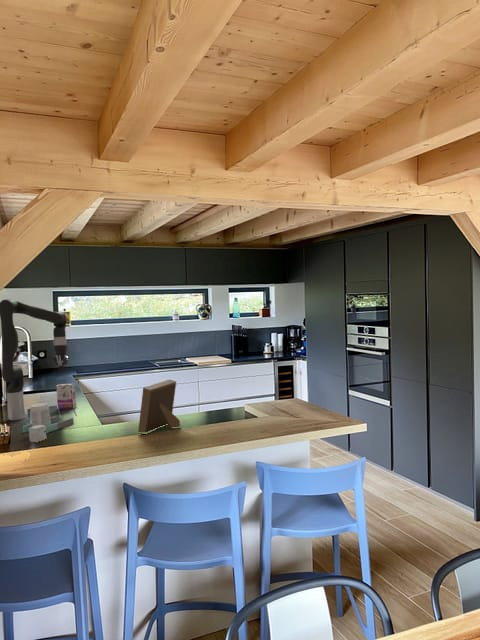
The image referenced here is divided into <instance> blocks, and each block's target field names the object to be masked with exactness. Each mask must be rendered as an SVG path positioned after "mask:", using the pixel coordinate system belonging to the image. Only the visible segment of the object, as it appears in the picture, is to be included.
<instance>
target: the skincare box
mask: <svg viewBox="0 0 480 640" xmlns="http://www.w3.org/2000/svg"><path fill="white" fill-rule="evenodd" d="M28 435H29V442H31V443H39V441H40V442H43V441H46V440H47V438H48V437H47V433H46V426H45V425H36V426H33V427H30V428H29V431H28ZM45 439H46V440H45ZM42 440H43V441H42Z"/></svg>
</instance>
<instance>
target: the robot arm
mask: <svg viewBox="0 0 480 640" xmlns="http://www.w3.org/2000/svg"><path fill="white" fill-rule="evenodd" d="M14 314H22V315H26V316H29V317H32V318H33V319H38V320H41V321H46V322H48V323H51V324H54V325H55V327H54V328H53V352H54V356H52V360H53V361H54V363H55V364H56V366H58V372H60V373H63V372H65V365H67V364H68V362H69V360H70V357H69V356H67V352H68V347H67V346H68V345H67V337H66V336H67V335H66V326H67V315H66V313H65V312H63V311H52V310H49V309H47V308H44V307H38V306H34V305H29V304H26V303H23V302H21V301H18V300H15V299H13V298H9V299H8V298H7V299H2V300H1V301H0V326H1V327H0V328H1V331H0V332H1V347H2V361H1V362H2V365H1V377H2V379H3V380H4V382H6V383H10V384H9V386H8V387H6V397H7V399H6V400H7V405H6V406H7V415H8V416H7V417H8V420H9V421H20V420H23V419H25V418H26V409H25V398H24V390H23V389H24V385H25V381H24V371H23V369H22V367H21V366H20V365H14V358H15V355H16V353H17V351H18V348H19V333H18V332H17V331H18V330H17V329H16V326H15V325H14V319H13V318H14Z"/></svg>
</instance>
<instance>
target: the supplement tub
mask: <svg viewBox="0 0 480 640" xmlns="http://www.w3.org/2000/svg"><path fill="white" fill-rule="evenodd" d="M50 413H51V412H50V406H49V403H48V402H39V403H35V404H32V405H30V414H31V423H32V426H36V425H45V426H48V425H51V421H50V418H51V414H50Z"/></svg>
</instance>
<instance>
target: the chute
mask: <svg viewBox="0 0 480 640" xmlns="http://www.w3.org/2000/svg"><path fill="white" fill-rule="evenodd" d="M50 421H51V425H48V426H46V434H48V433H51V432H54V431H57V430H59V429H60V430H61V429H64V428H65V427H68V426H69V427H70V426H72V425H74V424H75V422H74V417H70V418H67V419H65V420H60V421H58V416H57V415H54V416H52V417H51V416H50ZM30 427H33V426H32V422H31V423H29V424H26V425H23V426H22V432H23V433H29V428H30Z"/></svg>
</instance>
